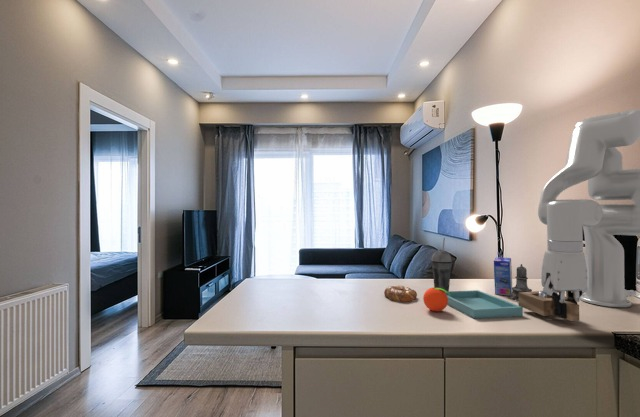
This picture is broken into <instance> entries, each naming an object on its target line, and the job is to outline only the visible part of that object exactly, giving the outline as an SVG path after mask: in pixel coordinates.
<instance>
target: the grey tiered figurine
mask: <svg viewBox="0 0 640 417" xmlns="http://www.w3.org/2000/svg"><path fill="white" fill-rule="evenodd" d="M528 278H529V277H527V268H526V267H524V266H523V263H521V264H520V266H518V267H516V276H515V279H516V281H515V283H516V284H515V286H512V288H511V289H512V294H513V295H514V297H512V300H513V301H515V300H516V301H515V302H519V298H518V293H519V292H533V289H531V288H530V287H529V286H528Z"/></svg>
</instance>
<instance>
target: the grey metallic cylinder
mask: <svg viewBox="0 0 640 417" xmlns="http://www.w3.org/2000/svg"><path fill="white" fill-rule="evenodd" d="M538 291H539V297H541V298H547V294H545V293H543V290H538ZM538 315H539V316H542V317H544V316H543V315H541V314H538ZM547 316H548V315H546V316H545V317H547Z"/></svg>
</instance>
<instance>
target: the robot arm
mask: <svg viewBox="0 0 640 417" xmlns="http://www.w3.org/2000/svg"><path fill="white" fill-rule="evenodd" d="M639 139H640V109H631V110H625V111H619V112H615V113H613V112H612V113H608V114H602V115H598V116H591V117H588V118H584V119H581V120H580V121H578V122H577V123H576V124H575V125H574V128H573V130H572V132H571V137H570V140H569V144H568V146H569V147H568V152H567V156H566V160H565V165H564V167H563V168H562V169H561V170H560V171H558V172H557V173H556V174H555V175H553V177H551V178H550V180H548V182H547V183H546V184H544V187H543V188H542V191H541V194H540V199H539V204H538V209H537V211H538V212H537V216H538V219H539V221H540V222H541V223H542V224H544V225H546V233H547V235H546V237H547V238H546V241H547V245H546V246H547V251H545V252H544V254H543V258H542V264H541V277H540V279H541V286H542V287H543V288H542V291H543V293H545V294H547V295H549V296H550V297H551V298H552V300H554V314H555V315H554V316H557V317H559V318H561V317H562V319H564V318H567V309H566V303H564V301H568V302H571V303H575V304H578V303H579V302H580V301H582V302H585V303H589V304H592V305H597V306H602V307H610V308H629V307H631V306H632V302H631V301H630V300H628V299H627V298H628V297H636V295H637V293H636V291H635V290H633V289H630V290H627V289H625V249H624V247H623V245H622V243H620V241H619V240H617V238H615V235H617V236H620V235H621V236H640V168H634V169H633V168H632V169H631V168H630V169H629V168H628V169H624V168H623V154H622V153H621V151H620V150H619V149H617V148H620V147H628V146H632V145H634V144H635V143H636V142H637V141H638V140H639ZM586 181H587V194H588V196H589V197H590V198H591V199H585V198H584V199H581V198H580V199H557V198H558V197H559V195H560V194H562V193H563V192H565V191H566V190H568V189H569V188H572V187H574V186H576V185H578V184H581V183H583V182H586ZM595 200H596V201H595ZM597 201H633V202H634V203H633V204H628V203H627V204H625V203H624V204H618V203H617V204H616V203H615V204H613V203H612V204H611V203H610V204H608V203H607V204H599V203H598V202H597ZM583 235H584V236H583ZM583 237H584V238H583ZM583 239H584V241H583ZM584 251H585V252H584ZM565 294H566V296H565ZM565 297H567V299H565Z"/></svg>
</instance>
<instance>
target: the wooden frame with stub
mask: <svg viewBox="0 0 640 417" xmlns="http://www.w3.org/2000/svg"><path fill="white" fill-rule="evenodd" d="M539 291H540V290H536V291H533V290H532V291H531V292H519V293H518V296H517V297H518V298H519V301H518V306H521V307H523V309H525V310H528V311H531V312H534V313H536V314H538V315H539V314H541V315H543V316H542V317H547V316H556V315H555V314H554V300H552V298H551V297H550V296H549V295H547V298H541V297H539ZM565 299H567V297H566V296H565ZM564 303H566V309H567V318H562V317H560V318H562V319H565V320H567V321H570V322H573V321H580V304H578V303H577V304H575V303H571V302H568V301H564ZM541 315H540V316H541ZM546 315H547V316H546Z"/></svg>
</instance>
